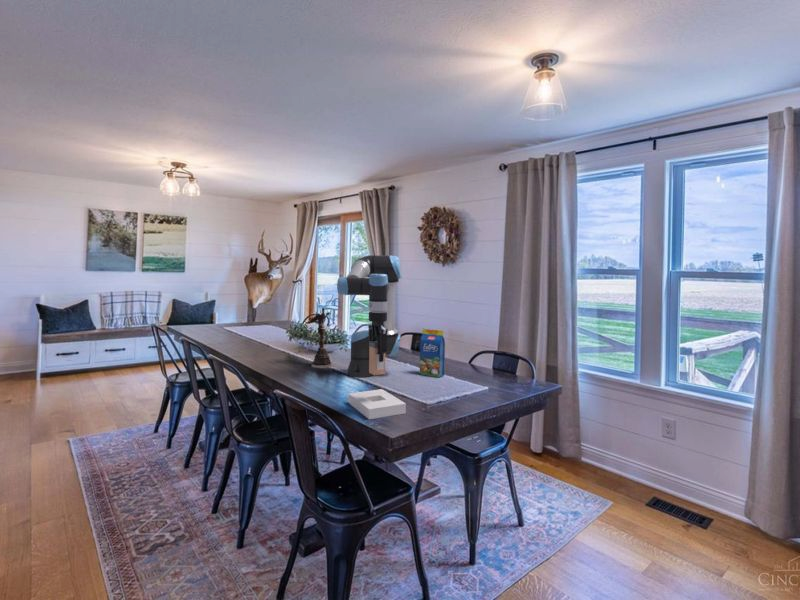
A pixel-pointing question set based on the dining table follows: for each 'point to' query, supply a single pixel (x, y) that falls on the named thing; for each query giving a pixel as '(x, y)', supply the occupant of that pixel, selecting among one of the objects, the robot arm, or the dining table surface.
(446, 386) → the dining table surface
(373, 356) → the plug
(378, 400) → the socket
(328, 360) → the bird statue
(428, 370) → the blue food package
